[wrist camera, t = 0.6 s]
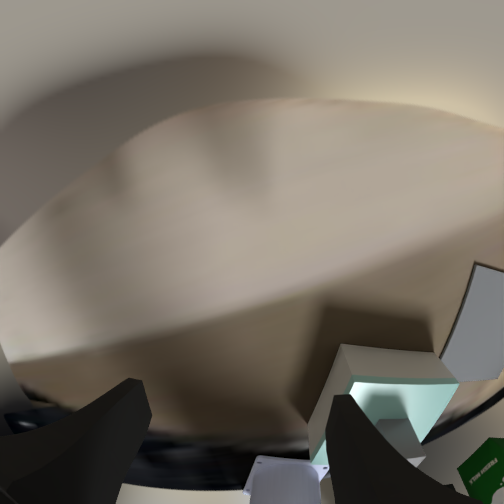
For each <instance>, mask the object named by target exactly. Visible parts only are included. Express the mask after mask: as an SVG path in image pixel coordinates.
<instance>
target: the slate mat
mask: <svg viewBox="0 0 504 504" xmlns="http://www.w3.org/2000/svg"><path fill="white" fill-rule="evenodd" d="M440 360H441V361H442V362H443V364H444V365H445V366H446V367H447V368H448V370H449V371H450V372H451V373H452V375H453V376H454V377H455V378H456V380H457V381H458V382H463V381H479V380H490V379H498V377H499V375H500V373H501V372H502V370H503V368H504V273H503V272H500V271H496V270H493V269H489V268H486V267H482V266H479V265H476V264H475V265H474V269H473V272H472V276H471V279H470V282H469V286H468V289H467V292H466V295H465V298H464V301H463V304H462V306H461V309H460V312H459V314H458V317H457V320H456V322H455V325H454V327H453V330H452V332H451V334H450V337H449V339H448V341H447V344H446V346H445V348H444V350H443V352H442V355H441V357H440Z"/></svg>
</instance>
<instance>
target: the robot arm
mask: <svg viewBox="0 0 504 504" xmlns="http://www.w3.org/2000/svg"><path fill="white" fill-rule="evenodd" d="M151 418H152V413H151V410H150V407H149V403H148V400H147V396H146V393H145V389H144V386H143V382H142V380H137V379H132V378H128V379H126V380H124V381H123V382H121V383H120V384H118V385H117V386H116V387H114V388H113V389H111V390H110V391H108V392H107V393H105V394H104V395H102V396H101V397H99V398H98V399H96V400H95V401H93V402H92V403H90V404H88V405H87V406H85V407H83V408H82V409H80V410H78V411H76V412H75V413H73V414H71V415H69V416H67V417H65V418H63V419H61V420H59V421H57V422H54V423H52V424H50V425H47V426H44V427H41V428H38V429H35V430H32V431H28V432H25V433H20V434H15V435H10V436H2V437H0V504H116V500H117V497H118V494H119V491H120V488H121V485H122V482H123V480H124V478H125V475H126V473H127V471H128V469H129V467H130V465H131V463H132V462H133V460H134V458H135V456H136V454H137V452H138V450H139V448H140V446H141V444H142V442H143V440H144V438H145V436H146V433H147V430H148V427H149V424H150V421H151ZM325 438H326V453H327V458H328V464H329V465H311V464H310V460H301V459H289V458H279V457H270V456H263V455H259V456H257V457H256V459H255V462H254V464H253V467H252V469H251V472H250V475H249V477H248V480H247V482H246V484H245V487H244V489H243V494H245V495H251V498H250V504H321V495H320V483H319V482H320V481H321V479H322V478H323V477H324V475H325V474H326V473H327V471H328V470H329V469H330V474H331V480H332V485H333V490H334V496H335V504H483V502H482V501H480V500H477V499H474V498H471V497H469V496H466V495H463V494H460V493H458V492H456V491H454V490H452V489H450V488H448V487H446V486H444V485H442V484H440V483H439V482H437V481H436V480H434V479H432V478H431V477H429V476H428V475H426V474H424V473H423V472H422V471H420V470H419V469H418V468H416V467H415V466H414V465H413V464H411V463H410V462H409V461H408V460H407V459H405V458H404V457H403V456H402V455H401V454H400V453H399V452H398V451H397V450H396V449H395V448H394V447H393V446H392V445H391V444H390V443H389V442H388V441H387V440H386V439H385V438H384V436H383V435H382V434H381V433H380V432H379V431H378V429H377V428H376V427H375V426H374V425H373V423H372V422H371V421H370V420H369V418H368V417H367V416H366V414H365V413H364V412H363V411H362V409H361V408H360V406H359V405H358V404H357V402H356V401H355V399H354V398H353V397H352V395H351V394H342V395H334V397H333V401H332V405H331V409H330V413H329V417H328V421H327V424H326V428H325Z"/></svg>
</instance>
